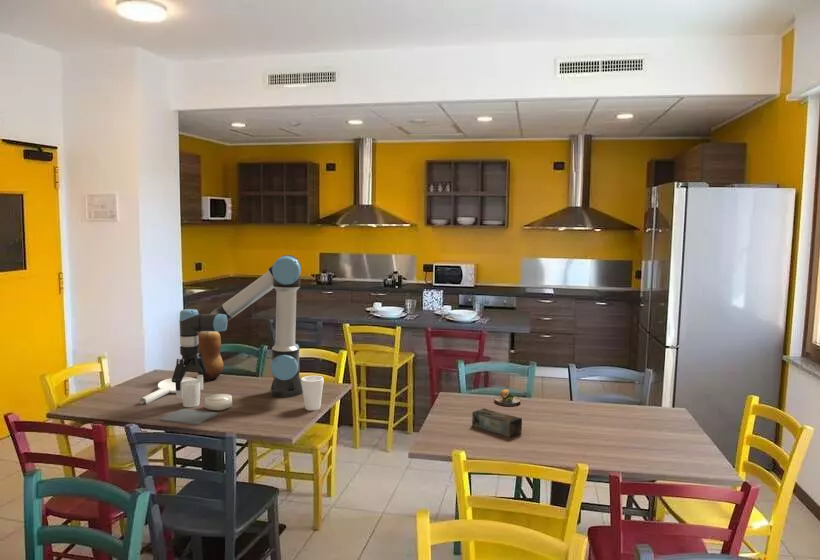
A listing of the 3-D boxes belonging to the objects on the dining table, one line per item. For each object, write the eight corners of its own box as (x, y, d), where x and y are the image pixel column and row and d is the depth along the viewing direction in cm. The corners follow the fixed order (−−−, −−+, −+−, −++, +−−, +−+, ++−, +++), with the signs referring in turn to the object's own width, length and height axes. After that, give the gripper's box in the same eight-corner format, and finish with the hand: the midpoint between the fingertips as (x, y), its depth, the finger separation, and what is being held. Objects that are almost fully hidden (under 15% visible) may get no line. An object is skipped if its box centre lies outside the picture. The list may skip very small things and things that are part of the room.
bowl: (237, 405, 258) (237, 394, 258) (222, 413, 248) (221, 401, 247) (215, 403, 261) (215, 392, 261) (199, 410, 251) (199, 399, 251)
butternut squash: (228, 375, 309) (227, 328, 306) (217, 382, 295) (215, 332, 293) (202, 374, 310) (201, 327, 308) (190, 381, 297) (189, 332, 295)
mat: (218, 414, 246) (218, 412, 246) (197, 425, 233) (197, 423, 233) (182, 410, 252) (182, 408, 252) (159, 420, 239) (159, 418, 239)
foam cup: (328, 408, 255) (327, 378, 254) (310, 413, 248) (310, 382, 247) (314, 403, 261) (314, 374, 260) (297, 408, 255) (296, 378, 253)
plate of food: (520, 407, 257) (520, 390, 256) (493, 406, 259) (493, 389, 258) (521, 399, 268) (521, 383, 267) (494, 398, 271) (495, 382, 270)
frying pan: (161, 410, 258) (161, 400, 257) (124, 404, 262) (124, 394, 262) (208, 385, 291) (208, 376, 290) (175, 380, 296) (174, 371, 295)
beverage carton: (483, 421, 238) (484, 405, 238) (523, 433, 225) (523, 417, 224) (471, 426, 233) (471, 410, 232) (510, 438, 220) (510, 421, 219)
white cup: (194, 408, 254) (193, 385, 253) (178, 407, 256) (177, 384, 255) (204, 402, 262) (203, 380, 261) (188, 401, 263) (187, 379, 262)
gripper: (200, 339, 269) (201, 385, 271) (161, 350, 246) (162, 400, 248) (214, 340, 267) (215, 386, 269) (177, 351, 243) (177, 402, 245)
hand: (190, 393), depth 258 cm, fingers open, 13 cm apart
